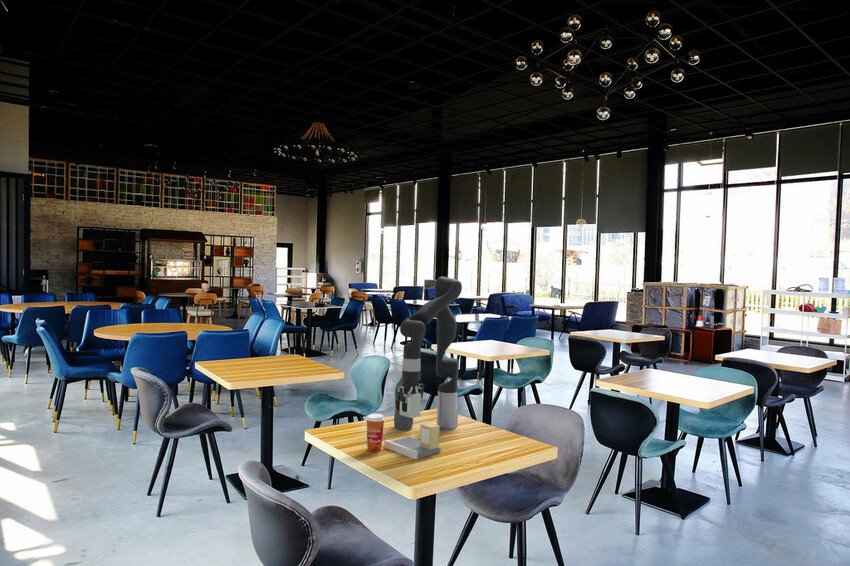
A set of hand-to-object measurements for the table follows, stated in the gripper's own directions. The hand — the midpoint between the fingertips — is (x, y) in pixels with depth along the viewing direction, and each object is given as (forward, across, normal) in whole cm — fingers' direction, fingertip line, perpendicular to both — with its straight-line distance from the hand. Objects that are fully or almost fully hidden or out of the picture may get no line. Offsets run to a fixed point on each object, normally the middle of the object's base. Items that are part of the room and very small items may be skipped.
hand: (409, 410), depth 220 cm
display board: (+17, +3, 0) cm, 17 cm away
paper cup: (+17, -10, +10) cm, 22 cm away
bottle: (+17, +22, +27) cm, 38 cm away
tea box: (+2, 0, 0) cm, 2 cm away
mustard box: (+15, +6, -6) cm, 17 cm away
